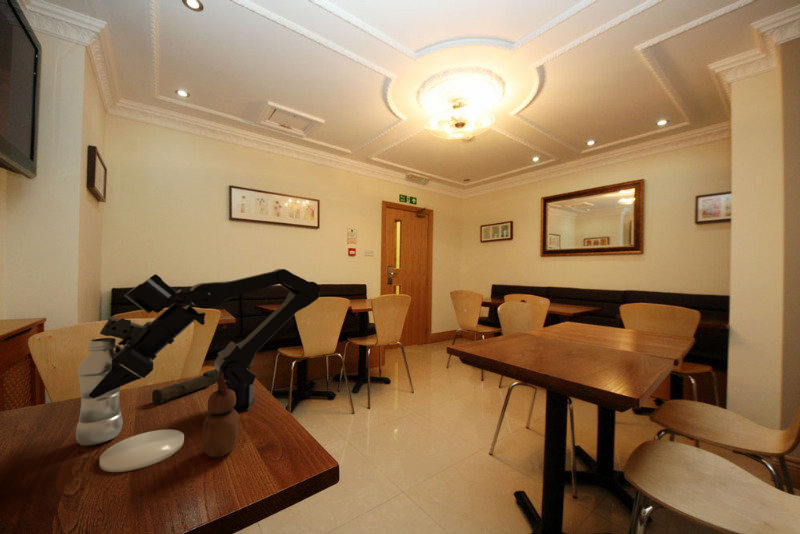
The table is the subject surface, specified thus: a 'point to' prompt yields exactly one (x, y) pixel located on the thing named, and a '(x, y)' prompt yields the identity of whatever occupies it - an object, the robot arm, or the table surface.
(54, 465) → the table surface
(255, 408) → the table surface
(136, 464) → the saucer
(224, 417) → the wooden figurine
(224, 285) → the robot arm
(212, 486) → the table surface
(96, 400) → the plastic bottle
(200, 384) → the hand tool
